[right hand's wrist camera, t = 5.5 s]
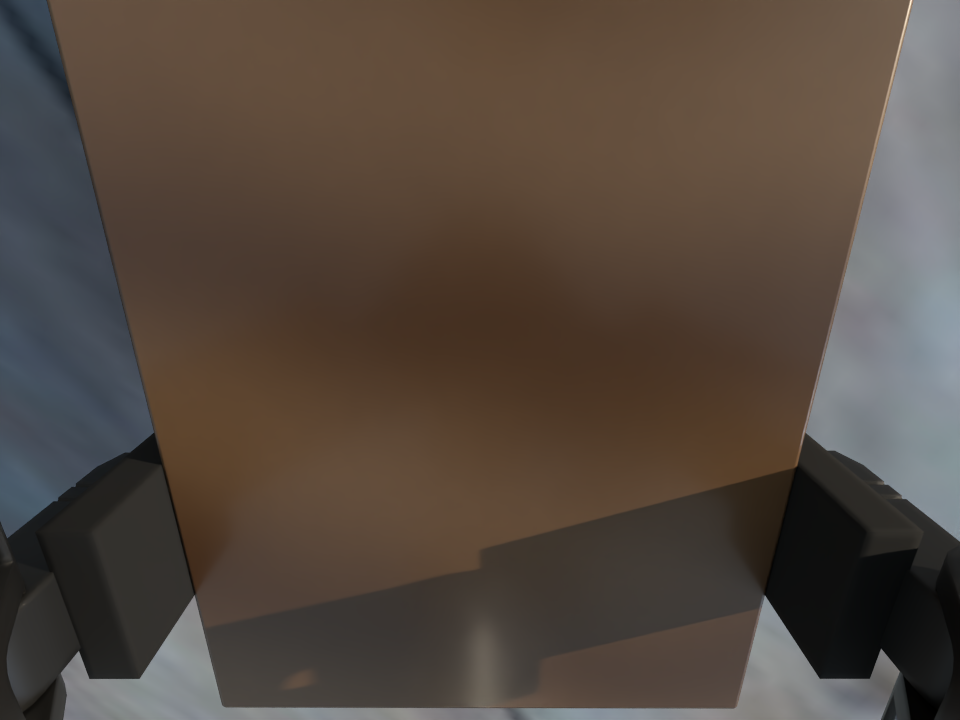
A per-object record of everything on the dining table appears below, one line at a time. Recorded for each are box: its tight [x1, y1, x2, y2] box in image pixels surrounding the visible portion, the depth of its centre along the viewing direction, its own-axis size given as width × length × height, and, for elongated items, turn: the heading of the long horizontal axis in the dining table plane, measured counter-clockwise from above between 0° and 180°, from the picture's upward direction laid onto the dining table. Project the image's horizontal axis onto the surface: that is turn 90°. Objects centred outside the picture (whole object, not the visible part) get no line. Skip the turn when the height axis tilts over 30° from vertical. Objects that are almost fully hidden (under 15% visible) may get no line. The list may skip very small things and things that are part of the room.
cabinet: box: [47, 0, 913, 708], centre depth 12 cm, size 17×10×11 cm, turn 0°
